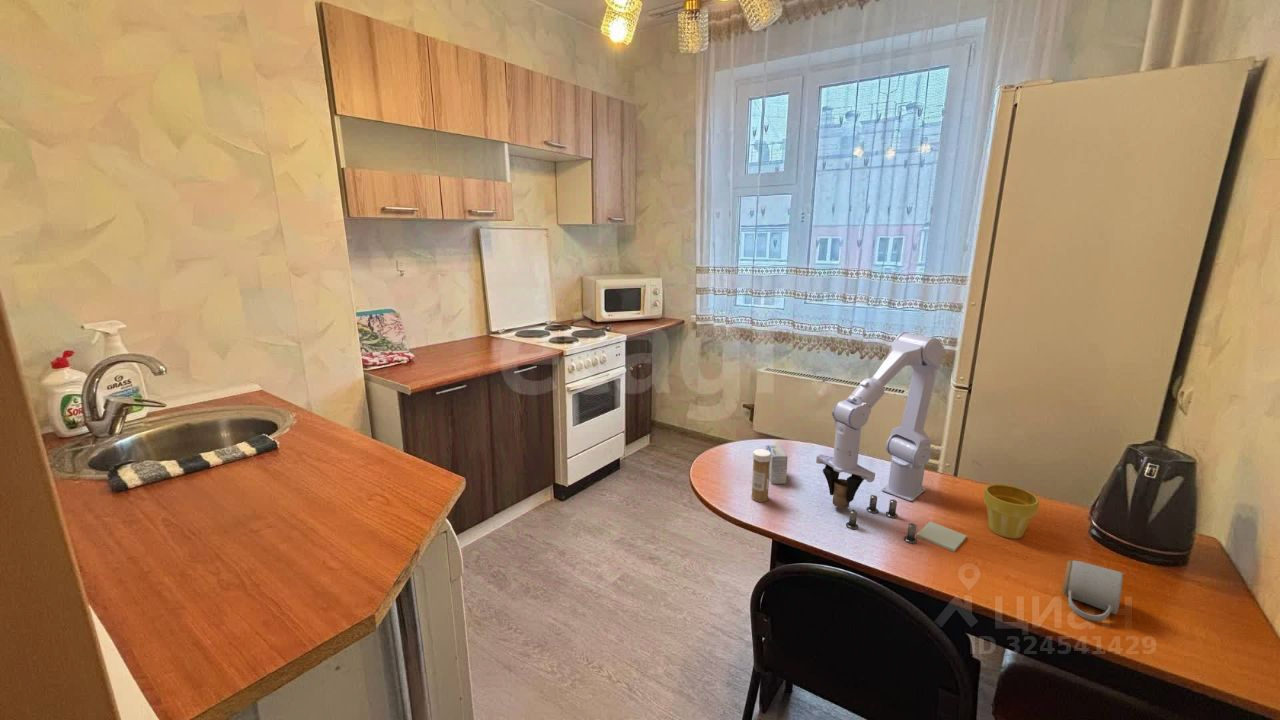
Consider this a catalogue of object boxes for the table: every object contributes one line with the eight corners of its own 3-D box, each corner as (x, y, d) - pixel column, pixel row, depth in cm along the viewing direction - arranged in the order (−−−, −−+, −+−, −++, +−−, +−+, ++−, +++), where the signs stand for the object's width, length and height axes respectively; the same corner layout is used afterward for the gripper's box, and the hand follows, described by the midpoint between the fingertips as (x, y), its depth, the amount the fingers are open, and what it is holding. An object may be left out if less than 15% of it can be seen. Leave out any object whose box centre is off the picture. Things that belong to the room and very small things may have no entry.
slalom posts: (872, 504, 133) (873, 490, 132) (931, 528, 122) (934, 513, 121) (843, 526, 124) (845, 511, 123) (905, 553, 113) (908, 537, 112)
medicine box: (786, 484, 144) (788, 456, 142) (770, 484, 144) (772, 456, 142) (779, 471, 152) (781, 444, 149) (764, 471, 152) (765, 444, 149)
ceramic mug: (1062, 581, 104) (1069, 549, 102) (1116, 600, 99) (1125, 566, 96) (1058, 610, 96) (1066, 576, 94) (1116, 632, 91) (1126, 596, 89)
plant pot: (968, 520, 126) (974, 484, 123) (1007, 517, 127) (1014, 482, 124) (1001, 545, 116) (1008, 506, 113) (1043, 542, 117) (1051, 504, 114)
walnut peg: (837, 498, 133) (839, 477, 132) (852, 504, 130) (854, 483, 129) (829, 503, 131) (831, 482, 129) (844, 509, 128) (846, 488, 126)
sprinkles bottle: (771, 499, 136) (774, 453, 133) (759, 504, 134) (762, 457, 130) (759, 492, 140) (761, 447, 136) (747, 496, 137) (749, 451, 134)
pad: (929, 523, 124) (930, 521, 124) (966, 537, 119) (966, 535, 118) (916, 536, 119) (916, 534, 119) (954, 551, 113) (954, 549, 113)
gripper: (811, 443, 130) (807, 491, 133) (867, 462, 119) (861, 514, 122) (826, 436, 134) (821, 482, 137) (881, 453, 123) (875, 504, 127)
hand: (841, 497), depth 130 cm, fingers closed on walnut peg, 4 cm apart
